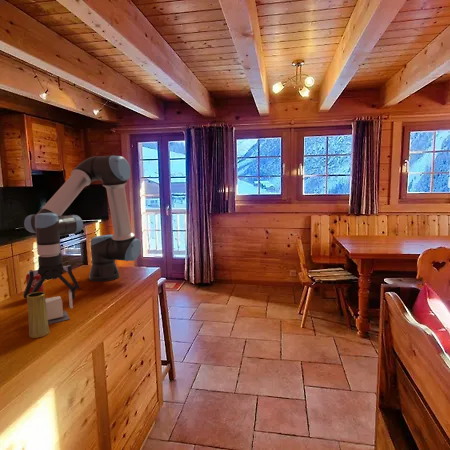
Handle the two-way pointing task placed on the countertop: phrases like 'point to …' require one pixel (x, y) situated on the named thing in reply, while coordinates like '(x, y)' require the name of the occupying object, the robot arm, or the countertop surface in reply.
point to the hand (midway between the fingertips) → (54, 310)
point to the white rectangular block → (54, 307)
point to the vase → (37, 315)
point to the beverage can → (34, 282)
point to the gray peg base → (65, 317)
